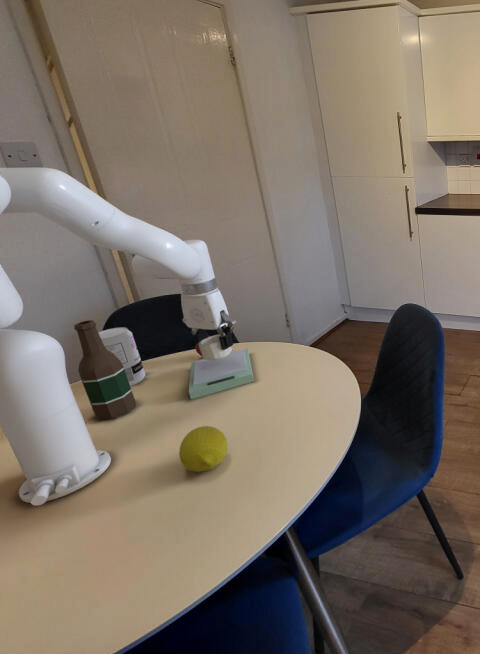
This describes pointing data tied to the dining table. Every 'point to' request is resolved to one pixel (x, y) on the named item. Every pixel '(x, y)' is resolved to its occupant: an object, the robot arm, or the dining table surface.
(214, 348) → the bowl
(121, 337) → the supplement can
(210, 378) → the scale
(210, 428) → the lemon
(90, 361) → the beer bottle
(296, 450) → the dining table surface
